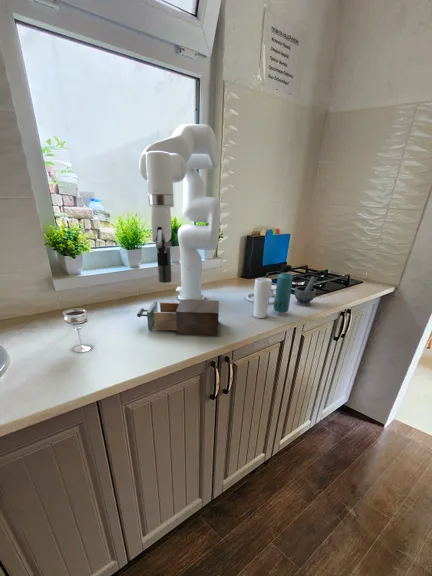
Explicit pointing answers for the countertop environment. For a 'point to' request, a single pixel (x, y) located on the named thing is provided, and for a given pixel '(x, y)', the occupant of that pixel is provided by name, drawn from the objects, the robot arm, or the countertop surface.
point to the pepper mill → (165, 271)
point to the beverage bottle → (283, 290)
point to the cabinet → (197, 317)
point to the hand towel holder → (270, 295)
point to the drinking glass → (261, 296)
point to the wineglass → (77, 324)
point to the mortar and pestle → (305, 293)
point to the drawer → (161, 316)
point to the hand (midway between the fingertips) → (164, 263)
